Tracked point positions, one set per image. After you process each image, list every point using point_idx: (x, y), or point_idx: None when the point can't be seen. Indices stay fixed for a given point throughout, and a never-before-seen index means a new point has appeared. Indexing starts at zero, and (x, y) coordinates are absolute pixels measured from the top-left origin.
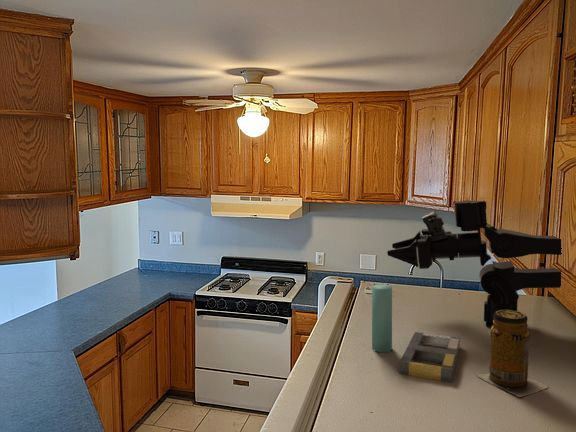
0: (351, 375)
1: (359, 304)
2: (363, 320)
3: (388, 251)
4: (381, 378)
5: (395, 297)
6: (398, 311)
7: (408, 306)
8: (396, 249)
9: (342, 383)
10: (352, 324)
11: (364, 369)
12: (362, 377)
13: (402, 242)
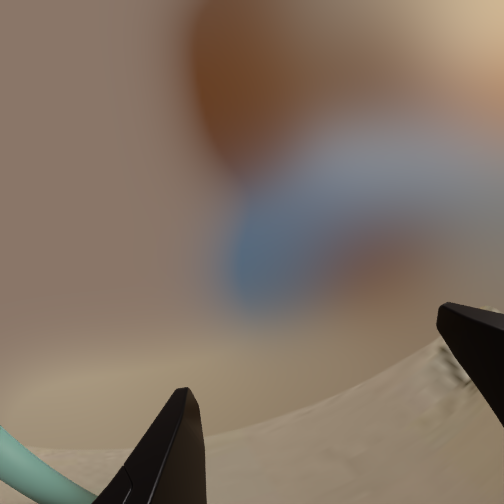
0: None
1: (359, 387)
2: (245, 450)
3: (176, 394)
4: (14, 498)
5: (470, 409)
6: (370, 489)
7: (431, 481)
8: (142, 437)
9: None
10: (208, 438)
11: None
12: None
13: (489, 334)
